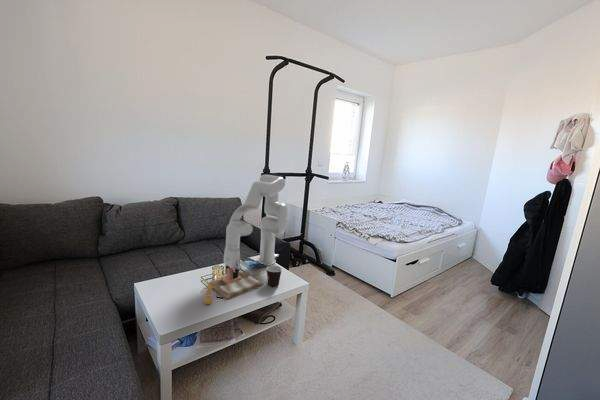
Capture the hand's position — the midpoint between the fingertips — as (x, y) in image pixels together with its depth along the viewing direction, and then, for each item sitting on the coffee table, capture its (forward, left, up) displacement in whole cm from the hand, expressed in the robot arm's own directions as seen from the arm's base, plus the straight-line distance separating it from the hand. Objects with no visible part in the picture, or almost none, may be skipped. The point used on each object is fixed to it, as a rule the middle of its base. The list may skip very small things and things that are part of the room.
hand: (231, 275), depth 158 cm
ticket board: (0, +5, -4) cm, 7 cm away
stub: (0, 0, -2) cm, 2 cm away
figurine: (+21, +12, -4) cm, 25 cm away
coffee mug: (-18, +16, -4) cm, 24 cm away
